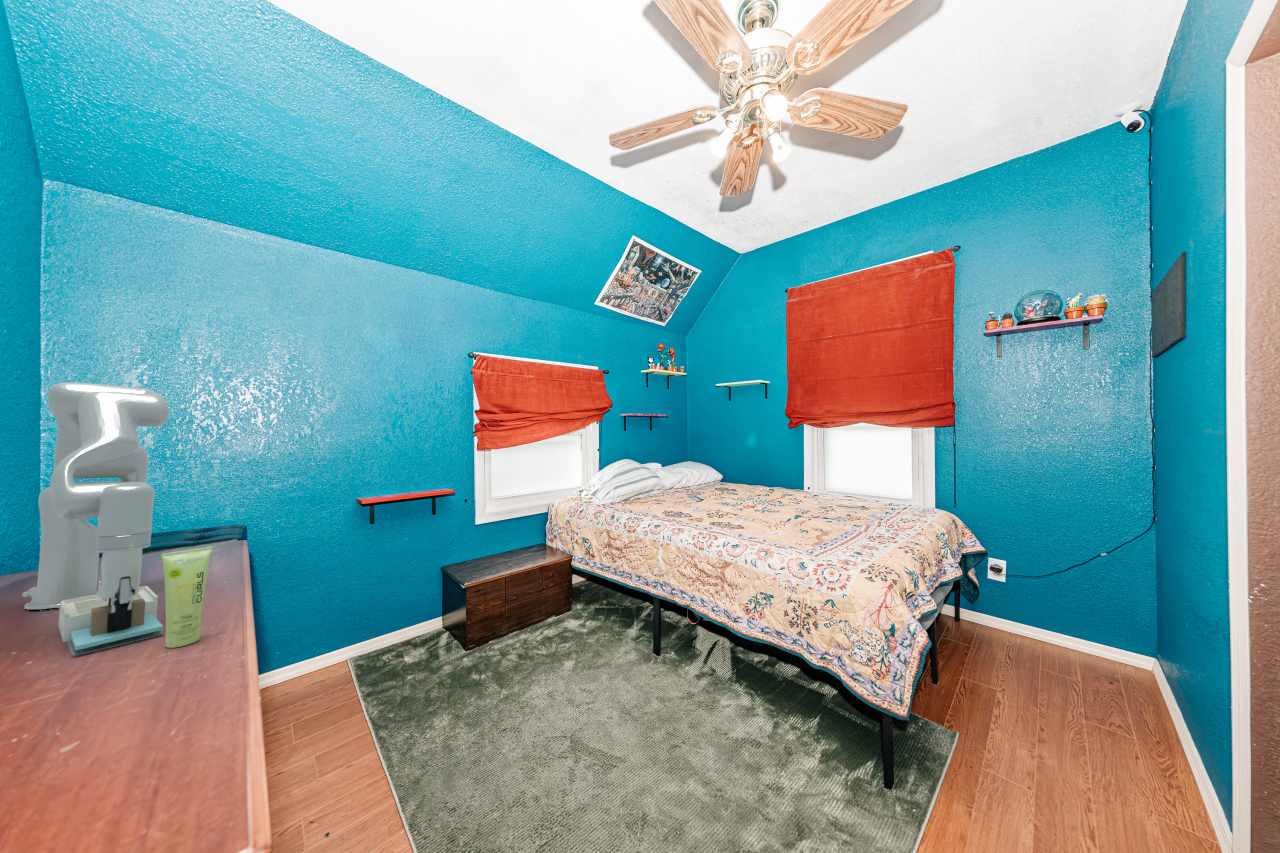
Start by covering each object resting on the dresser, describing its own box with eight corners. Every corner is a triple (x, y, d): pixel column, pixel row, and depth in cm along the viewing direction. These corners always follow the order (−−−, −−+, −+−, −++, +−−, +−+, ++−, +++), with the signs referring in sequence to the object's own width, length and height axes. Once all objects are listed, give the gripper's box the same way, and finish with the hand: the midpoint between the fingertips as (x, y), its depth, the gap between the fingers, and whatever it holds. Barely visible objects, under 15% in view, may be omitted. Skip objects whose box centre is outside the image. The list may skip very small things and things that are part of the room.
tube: (182, 649, 86) (189, 552, 87) (154, 650, 85) (161, 553, 86) (207, 637, 91) (213, 546, 92) (180, 638, 90) (186, 546, 92)
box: (58, 626, 96) (60, 600, 96) (145, 608, 107) (146, 585, 107) (62, 642, 88) (65, 614, 89) (156, 621, 99) (157, 596, 99)
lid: (70, 635, 88) (72, 607, 89) (152, 617, 98) (153, 592, 98) (75, 650, 82) (77, 620, 82) (162, 629, 91) (164, 602, 92)
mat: (67, 642, 88) (67, 641, 88) (153, 623, 98) (153, 622, 98) (71, 657, 82) (71, 655, 82) (163, 634, 92) (163, 633, 92)
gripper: (91, 540, 92) (84, 625, 91) (101, 550, 83) (93, 645, 82) (144, 534, 99) (138, 614, 98) (157, 543, 90) (151, 631, 89)
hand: (117, 627), depth 90 cm, fingers closed on lid, 2 cm apart
